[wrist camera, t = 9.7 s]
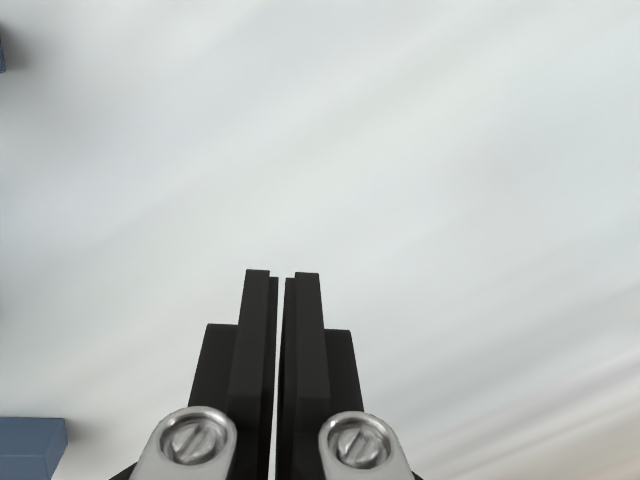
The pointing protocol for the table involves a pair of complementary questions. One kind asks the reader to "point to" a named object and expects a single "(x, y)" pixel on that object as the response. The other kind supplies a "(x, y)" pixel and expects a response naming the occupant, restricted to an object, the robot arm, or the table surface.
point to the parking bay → (30, 437)
